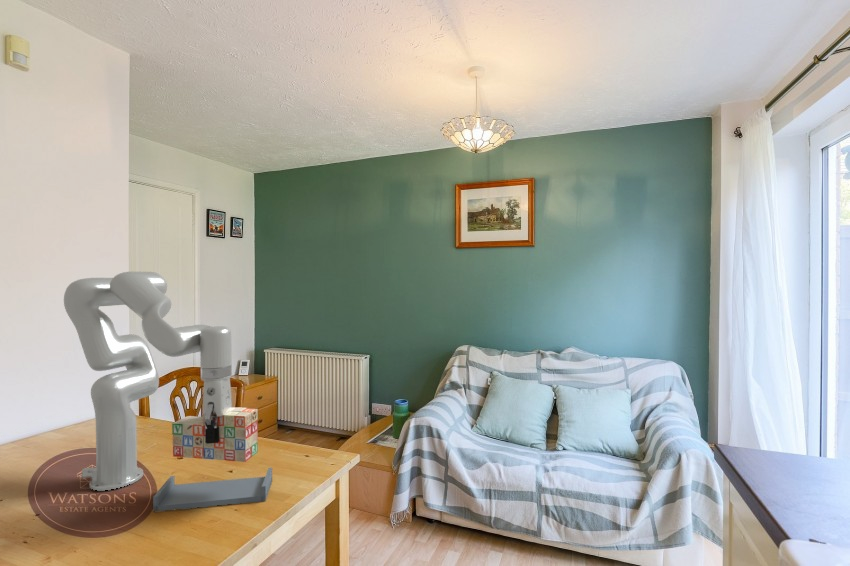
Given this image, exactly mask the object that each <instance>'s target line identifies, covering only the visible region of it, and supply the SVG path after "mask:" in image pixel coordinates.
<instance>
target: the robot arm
mask: <svg viewBox="0 0 850 566" xmlns="http://www.w3.org/2000/svg"><path fill="white" fill-rule="evenodd" d="M167 291H168V283H167V280H166V279H165V277H163V275H161V274H160V273H157V272H154V271H124V272H123V271H122V272H121V273H118V274H116V275H115V276H114V277H87V278H81V279H77V280H74V281H73V282H71V283H70V284H69V285H68V286H67V287H66V288H65V291H64V295H63V305H64V306H63V307H64V309H65V312H66V314H67V316H68V317H69V319H70V321H71V322H72V324H73V326H74V327H75V330H76V332H77V336H78V339H79V342H80V344H81V349H82V350H83V353H84V356H85V360H86V362H87V364H88V366H89V367H90V368H91V369H92V370H93V371H95V372H102V371H110V370H114V369H119V368H123V367H125V368H126V370H121V371H117V372H111V373H108V374H105V375H103V376H101V377H99V378H98V379H97V380H95V381H94V383H93V384H92V386H91V388H90V397H91V398H90V399H91V402H92V404H93V410H94V417H95V444H96V445H95V451H96V452H95V453H96V455H95V457H96V460H95V461H96V465H95V467H84V468H82V470H81V479H88V478H91V479H90V481H89V489H91V490H92V489H93V490H92V491H95V490H97V491H96V492H106V491H105V490H108V491H112V490H111V489H114V490H117V489H116V488H118V489H121V488H120V487H122V488H125V487H127V485H128V486H130V485H132V484H135V483H136V482H137V481H139V480H140V479H142V477H143V476H144V470H143V468H141V467H138V465H137V464H138V452H137V451H138V444H137V443H138V442H137V439H138V438H137V437H138V435H137V431H138V430H137V428H138V427H137V425H138V424H137V416H136V413H135V412H134V410H133V408H131V406H130V403H132V402H135V401H138V400H140V399H143V398H148V397H149V396H151V395H153V394H154V393H156V392H157V390H158V388H159V385H160V377H159V374H158V371H157V368H156V364H155V362H154V359H153V356H152V353H151V350H150V347H149V345H148V343H149V344H150V345H151V346H153V347H154V348H155V349H156V350H157V351H158V352H159V353H161V354H163V355H165V356H167V357H171V358H176V357H181V356H185V355H190V354H195V353H200V354H199V355H200V381H203V389H202V390H203V392H202V393H203V394H202V398H203V399H202V416H203V415H204V417H205V443H206V444H209V443H218V442H219V427H218V418H219V416H220V417H223V416H224V414H225V412H226V411H227V410H228V409H229V408H230V407H233V405H232V389H231V388H232V386H231V378H232V373H233V372H232V331H231V329H230V328H229V327H227V326H210V325H206V324H193V325H187V326H185V325H184V326H179V327H174V326H171V324H169V323H168V322H167V321H166V320H164V317H166V316H167V315H168V313H169V312H170V310H171V308H172V301H171V298H169V297H168V295H166V293H167ZM110 306H111V307H112V306H127V308H128V309H130V310H131V311H132V312H134V313H135V314H136V315H137V316H138V317H140V319H141V330H142V334H143V335H144V338H145V339H146V340H144V338H142V336H140V335H137V334H123V335H118V333H117V331H116V329H115V325H114V323H113V321H112V319H111V318H110V317H109V316H108V315H107V314H106V313H105V312H103V311H102V310H101V309H99V307H110ZM147 342H148V343H147ZM212 414H217V415H216V416H212ZM212 419H215V423H214V420H212ZM129 484H130V485H129ZM124 486H125V487H124Z"/></svg>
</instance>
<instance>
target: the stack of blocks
mask: <svg viewBox="0 0 850 566" xmlns="http://www.w3.org/2000/svg"><path fill="white" fill-rule="evenodd" d="M258 410H259V409H258V408H249V407H239V406H238V407H233V406H231V407H230V408H229V409H228V410H227V411H226V412H225V414H224V416H223V417H220V416H219V418H218V427H219V442H218V443H209V444H206V443H205V417H204V415H203V414H202V416H198V415H197V416H193V415H187V416H185V417H183V418H180V419H178V420H176V421H175V422H173V423H172V424H171V427H172V429H171V431H172V432H171V434H172V456H173V457H176V458H187V459H199V460H202V459H203V460H215V461H228V462H241V463H246V462H247V461H249V460H250V459H251V458H252V457H253V456H255V455H256V454H258V451H259V450H258V446H259V445H258V443H259V442H258V440H259V439H258V437H259V436H258V435H259V434H258V431H259V430H258V429H259V427H258V425H259V419H258V413H259V412H258ZM216 415H217V414H212V416H216ZM212 420H214V423H215V419H212Z"/></svg>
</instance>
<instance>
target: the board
mask: <svg viewBox="0 0 850 566" xmlns="http://www.w3.org/2000/svg"><path fill="white" fill-rule="evenodd" d="M266 471H267V472H266V474H265V476H256V477H245V478H244V477H243V478H235V479H234V478H233V479H224V480H212V481H200V482H192V483H191V482H190V483H179V484H177V483H176V484H175V482H176V481H175V477H176V476H175V475H170V476H169V478H168V479H167V480H166V481H165V482H164V483H163V485H162V486H161V487H160V488H159V489H158V490H157V492H156V493H155V494H154V495H153V496H152V504H153V506H152V507H153V509H152V512H153V513H155V512H154V511H162V512H166V511H165V510H172V511H175V510H174V509H182V510H189V509H190V510H192V509H198V508H197V507H202V508H209V507H208V506H212V507H218V506H217V505H222V506H228V505H227V504H232V505H239V504H240V503H242V504H249V503H250V504H251V503H259V502H267V498H268V495H269V493H270V490H271V489H270V488H271V486H272V482H273V467H267V470H266ZM191 508H192V509H191Z"/></svg>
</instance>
